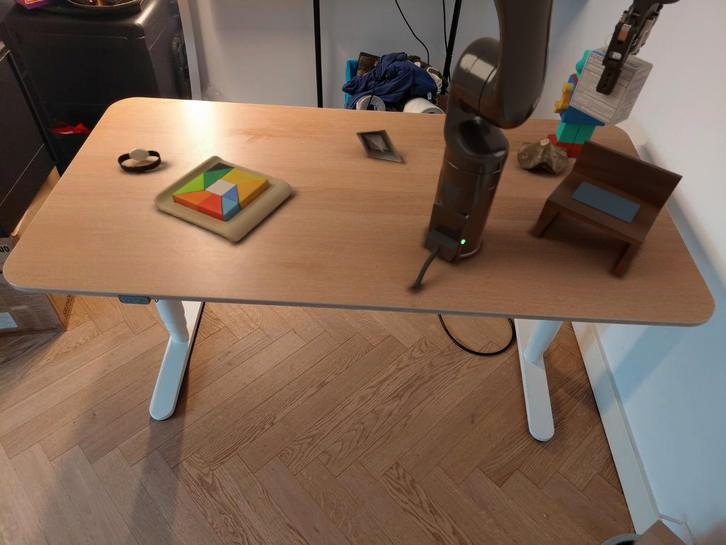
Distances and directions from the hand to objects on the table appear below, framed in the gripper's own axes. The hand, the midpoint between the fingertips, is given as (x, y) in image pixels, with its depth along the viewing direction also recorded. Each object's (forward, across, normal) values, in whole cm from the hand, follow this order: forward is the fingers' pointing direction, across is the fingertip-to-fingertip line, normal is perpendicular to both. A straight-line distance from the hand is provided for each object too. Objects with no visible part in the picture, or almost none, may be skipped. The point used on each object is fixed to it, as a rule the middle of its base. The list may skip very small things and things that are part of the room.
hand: (609, 85), depth 71 cm
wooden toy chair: (+25, +1, +7) cm, 27 cm away
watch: (+26, +41, -69) cm, 84 cm away
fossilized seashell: (+26, -14, -8) cm, 30 cm away
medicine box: (+5, 0, 0) cm, 5 cm away
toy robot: (+26, -24, -6) cm, 36 cm away
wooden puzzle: (+26, +37, -49) cm, 67 cm away
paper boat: (+26, +7, -37) cm, 45 cm away
